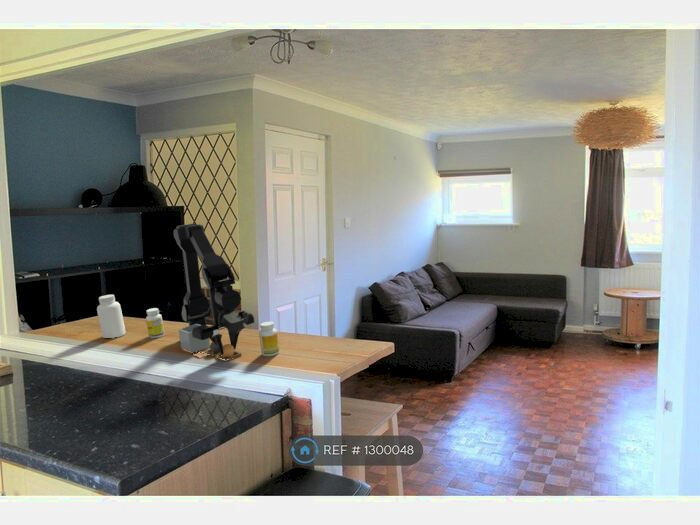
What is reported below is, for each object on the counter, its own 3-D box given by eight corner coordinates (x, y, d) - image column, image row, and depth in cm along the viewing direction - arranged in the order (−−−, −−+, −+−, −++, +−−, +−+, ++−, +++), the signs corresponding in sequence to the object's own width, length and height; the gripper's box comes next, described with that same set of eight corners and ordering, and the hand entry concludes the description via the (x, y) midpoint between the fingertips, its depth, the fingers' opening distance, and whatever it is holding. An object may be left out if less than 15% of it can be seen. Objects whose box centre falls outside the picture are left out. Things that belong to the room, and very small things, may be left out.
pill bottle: (102, 335, 207) (94, 296, 204) (125, 330, 210) (118, 292, 207) (102, 341, 200) (94, 300, 197) (126, 336, 203) (119, 296, 200)
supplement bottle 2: (258, 354, 171) (254, 324, 169) (273, 348, 174) (269, 319, 172) (268, 358, 167) (263, 327, 165) (283, 352, 170) (279, 322, 168)
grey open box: (181, 349, 182) (178, 329, 180) (199, 343, 186) (196, 323, 185) (191, 353, 177) (188, 332, 176) (210, 347, 181) (206, 326, 180)
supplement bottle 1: (147, 336, 200) (142, 310, 198) (162, 332, 203) (157, 306, 201) (151, 339, 196) (147, 312, 194) (167, 335, 199) (162, 309, 197)
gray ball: (208, 353, 176) (206, 341, 175) (219, 349, 179) (217, 337, 178) (215, 355, 173) (213, 343, 172) (226, 351, 176) (224, 339, 175)
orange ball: (219, 357, 171) (217, 345, 170) (230, 353, 174) (228, 341, 173) (226, 360, 168) (224, 347, 168) (237, 355, 171) (236, 343, 170)
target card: (191, 355, 176) (191, 354, 176) (200, 352, 178) (200, 351, 178) (199, 358, 172) (199, 357, 172) (208, 355, 174) (208, 354, 174)
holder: (205, 353, 176) (204, 351, 176) (220, 348, 180) (220, 345, 180) (225, 361, 167) (225, 359, 167) (241, 355, 171) (241, 353, 171)
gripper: (206, 315, 156) (215, 367, 159) (261, 298, 168) (268, 347, 171) (187, 310, 164) (195, 360, 167) (241, 294, 176) (247, 340, 179)
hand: (228, 352), depth 171 cm, fingers closed on orange ball, 4 cm apart
